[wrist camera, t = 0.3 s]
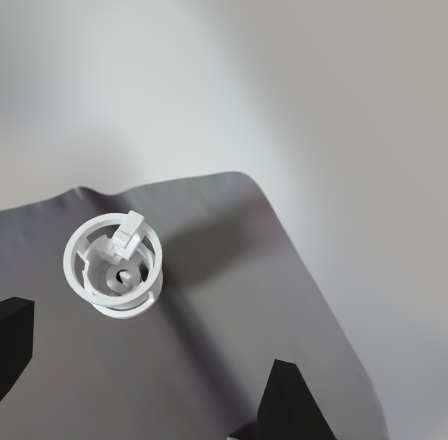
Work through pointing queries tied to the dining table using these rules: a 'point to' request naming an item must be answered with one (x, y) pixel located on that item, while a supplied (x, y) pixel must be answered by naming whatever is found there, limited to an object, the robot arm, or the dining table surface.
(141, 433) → the dining table surface
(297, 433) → the robot arm
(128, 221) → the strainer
